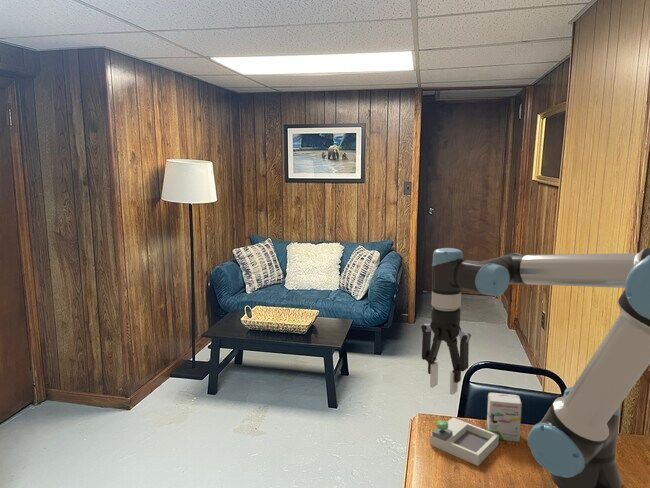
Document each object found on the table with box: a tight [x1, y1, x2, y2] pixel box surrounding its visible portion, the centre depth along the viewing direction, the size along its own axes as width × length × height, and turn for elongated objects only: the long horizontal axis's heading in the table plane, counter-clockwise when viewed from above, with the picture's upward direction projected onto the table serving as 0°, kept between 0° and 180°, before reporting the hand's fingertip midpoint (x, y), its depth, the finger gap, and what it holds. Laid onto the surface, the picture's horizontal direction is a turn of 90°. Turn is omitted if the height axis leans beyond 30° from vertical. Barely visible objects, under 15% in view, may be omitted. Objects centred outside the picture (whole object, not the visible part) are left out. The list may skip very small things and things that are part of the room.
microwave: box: [429, 417, 499, 467], centre depth 132 cm, size 14×12×4 cm
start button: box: [436, 420, 448, 433], centre depth 132 cm, size 3×3×2 cm
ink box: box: [486, 392, 523, 442], centre depth 136 cm, size 8×5×12 cm, turn 77°
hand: (443, 388), depth 130 cm, fingers open, 5 cm apart
